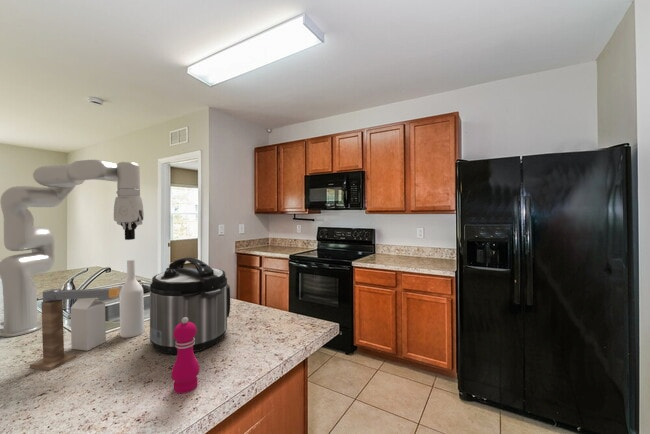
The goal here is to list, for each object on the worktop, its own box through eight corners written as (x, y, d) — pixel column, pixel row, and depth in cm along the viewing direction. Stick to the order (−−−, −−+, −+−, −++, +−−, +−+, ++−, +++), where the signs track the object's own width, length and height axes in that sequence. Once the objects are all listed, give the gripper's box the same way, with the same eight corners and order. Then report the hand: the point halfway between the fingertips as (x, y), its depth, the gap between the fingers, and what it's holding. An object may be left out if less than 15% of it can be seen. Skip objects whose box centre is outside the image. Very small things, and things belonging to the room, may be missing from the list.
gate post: (50, 370, 92) (48, 305, 91) (29, 367, 93) (27, 304, 92) (76, 357, 100) (74, 297, 99) (56, 355, 101) (55, 296, 100)
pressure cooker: (232, 351, 104) (231, 262, 103) (140, 365, 95) (138, 268, 94) (229, 320, 132) (228, 250, 131) (158, 329, 123) (157, 254, 122)
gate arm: (39, 302, 93) (38, 293, 93) (49, 298, 97) (48, 289, 97) (114, 298, 97) (114, 289, 97) (120, 294, 101) (120, 286, 101)
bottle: (129, 329, 123) (128, 257, 122) (148, 329, 123) (147, 258, 122) (115, 337, 115) (113, 261, 114) (134, 338, 114) (133, 261, 113)
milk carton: (87, 351, 104) (86, 298, 103) (71, 349, 105) (70, 296, 105) (106, 342, 111) (105, 292, 110) (90, 340, 112) (89, 291, 112)
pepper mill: (177, 379, 87) (177, 313, 86) (203, 378, 87) (202, 312, 87) (166, 395, 80) (165, 322, 79) (194, 394, 80) (193, 321, 80)
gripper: (104, 193, 114) (105, 240, 115) (137, 193, 112) (138, 240, 112) (120, 194, 122) (121, 238, 122) (152, 193, 119) (153, 238, 120)
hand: (129, 239), depth 117 cm, fingers closed
